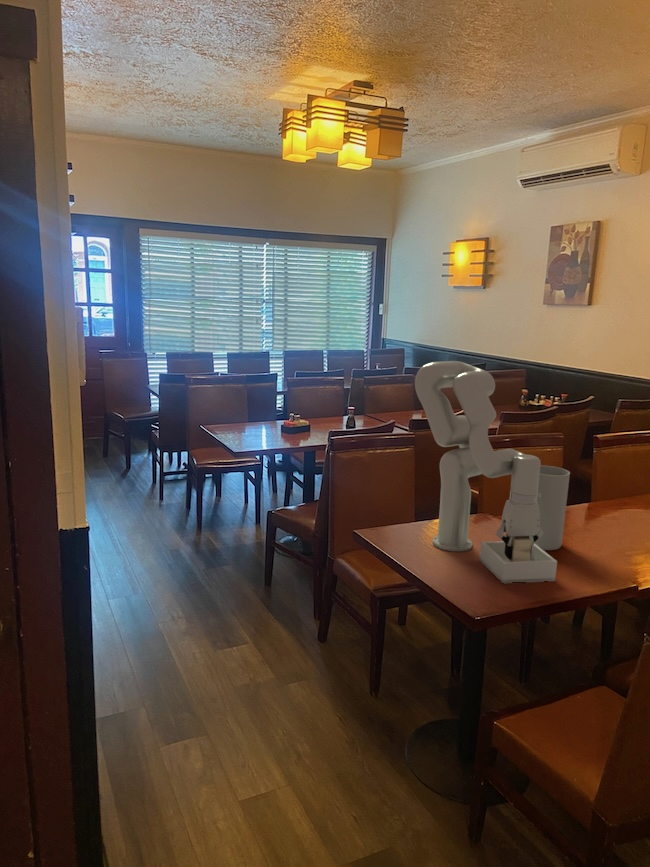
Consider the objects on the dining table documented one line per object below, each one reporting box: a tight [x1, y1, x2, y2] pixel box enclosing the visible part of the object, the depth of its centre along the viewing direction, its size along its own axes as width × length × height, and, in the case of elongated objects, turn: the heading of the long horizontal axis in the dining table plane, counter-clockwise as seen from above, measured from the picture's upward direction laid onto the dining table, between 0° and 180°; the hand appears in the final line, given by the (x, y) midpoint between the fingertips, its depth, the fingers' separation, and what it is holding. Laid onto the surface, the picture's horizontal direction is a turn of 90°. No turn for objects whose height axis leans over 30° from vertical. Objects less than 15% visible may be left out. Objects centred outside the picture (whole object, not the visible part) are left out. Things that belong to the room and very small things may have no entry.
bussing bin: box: [479, 540, 558, 584], centre depth 184 cm, size 16×16×6 cm
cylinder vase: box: [534, 465, 571, 551], centre depth 203 cm, size 12×12×25 cm
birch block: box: [506, 536, 532, 562], centre depth 183 cm, size 5×5×7 cm
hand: (517, 556), depth 184 cm, fingers closed on birch block, 4 cm apart
